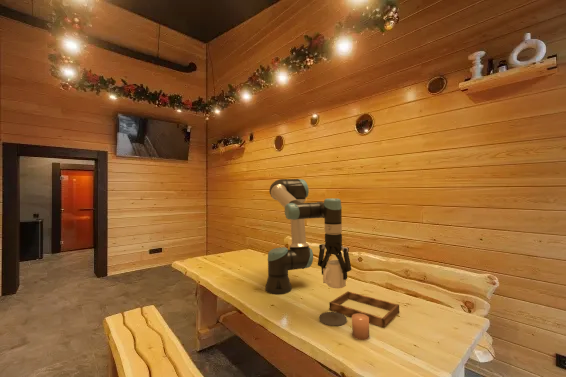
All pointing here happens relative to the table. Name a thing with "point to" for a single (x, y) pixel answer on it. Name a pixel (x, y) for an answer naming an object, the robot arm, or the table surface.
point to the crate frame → (373, 319)
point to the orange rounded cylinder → (360, 326)
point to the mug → (333, 274)
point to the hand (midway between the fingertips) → (334, 284)
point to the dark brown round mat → (332, 319)
